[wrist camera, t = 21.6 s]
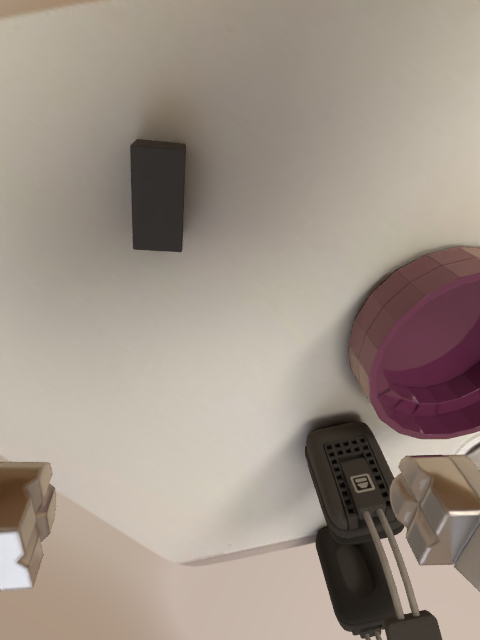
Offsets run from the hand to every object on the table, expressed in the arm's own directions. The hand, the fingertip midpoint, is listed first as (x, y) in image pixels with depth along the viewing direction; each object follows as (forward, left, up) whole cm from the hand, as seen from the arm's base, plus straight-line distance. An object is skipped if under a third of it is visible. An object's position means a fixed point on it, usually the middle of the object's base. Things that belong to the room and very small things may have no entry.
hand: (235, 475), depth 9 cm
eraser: (-2, -3, -21) cm, 21 cm away
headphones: (+28, +16, -21) cm, 39 cm away
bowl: (+8, +20, -21) cm, 30 cm away
